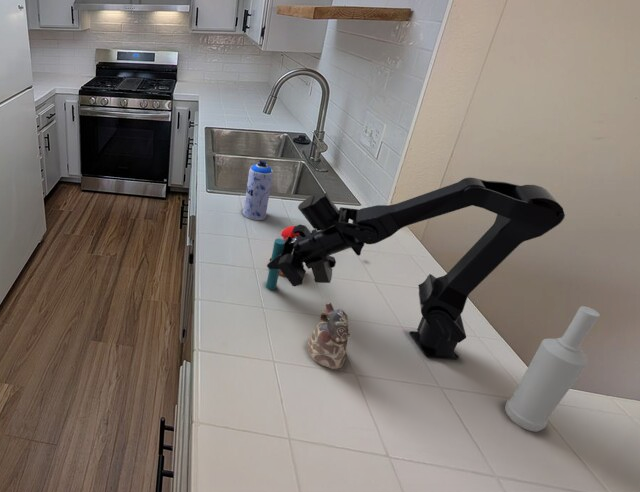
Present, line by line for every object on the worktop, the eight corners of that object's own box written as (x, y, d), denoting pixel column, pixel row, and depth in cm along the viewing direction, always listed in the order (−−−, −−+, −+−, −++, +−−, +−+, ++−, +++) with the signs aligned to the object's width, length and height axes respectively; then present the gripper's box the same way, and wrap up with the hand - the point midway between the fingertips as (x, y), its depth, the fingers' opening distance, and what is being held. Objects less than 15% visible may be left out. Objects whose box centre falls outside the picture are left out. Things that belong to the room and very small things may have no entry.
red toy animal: (278, 245, 116) (282, 229, 114) (280, 235, 121) (283, 219, 119) (307, 252, 113) (311, 235, 110) (308, 242, 118) (311, 225, 116)
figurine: (323, 372, 76) (336, 327, 72) (299, 344, 83) (310, 300, 78) (352, 364, 78) (367, 319, 74) (327, 337, 85) (339, 294, 80)
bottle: (502, 398, 72) (562, 294, 62) (541, 416, 69) (610, 309, 59) (504, 420, 68) (568, 312, 58) (545, 439, 65) (620, 329, 55)
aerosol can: (238, 209, 136) (246, 157, 128) (259, 207, 137) (267, 156, 129) (249, 221, 129) (257, 166, 121) (270, 219, 130) (280, 165, 122)
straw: (277, 290, 98) (286, 244, 93) (267, 289, 98) (276, 243, 93) (274, 284, 100) (283, 238, 95) (265, 283, 100) (273, 238, 95)
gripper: (343, 296, 80) (280, 314, 90) (351, 249, 94) (296, 269, 104) (310, 253, 81) (251, 275, 91) (323, 213, 95) (271, 236, 105)
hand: (269, 264), depth 97 cm, fingers closed on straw, 2 cm apart
